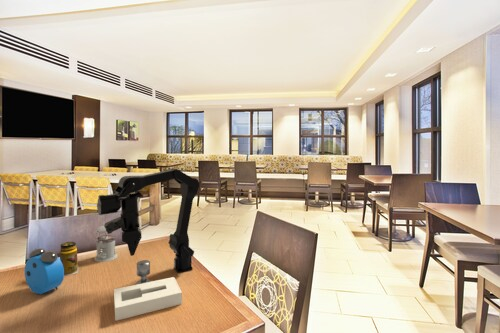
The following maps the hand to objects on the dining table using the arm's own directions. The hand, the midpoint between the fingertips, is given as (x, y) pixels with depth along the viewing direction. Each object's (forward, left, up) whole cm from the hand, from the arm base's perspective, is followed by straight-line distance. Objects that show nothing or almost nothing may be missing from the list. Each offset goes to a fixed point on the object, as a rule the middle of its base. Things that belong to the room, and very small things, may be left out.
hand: (131, 251), depth 102 cm
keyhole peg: (-4, +3, -13) cm, 14 cm away
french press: (+9, -33, -13) cm, 37 cm away
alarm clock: (+28, -9, -13) cm, 32 cm away
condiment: (+23, -23, -13) cm, 35 cm away
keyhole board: (-4, +15, -13) cm, 20 cm away
